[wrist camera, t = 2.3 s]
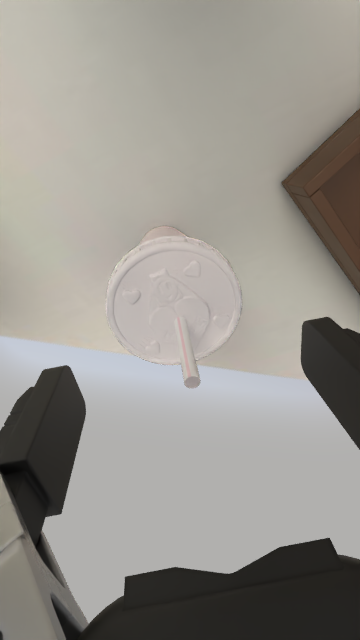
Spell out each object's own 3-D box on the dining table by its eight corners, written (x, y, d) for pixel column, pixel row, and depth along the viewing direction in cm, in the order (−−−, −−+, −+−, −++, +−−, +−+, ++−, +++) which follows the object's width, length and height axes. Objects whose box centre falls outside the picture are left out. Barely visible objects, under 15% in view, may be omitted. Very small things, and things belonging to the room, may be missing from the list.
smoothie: (144, 303, 24) (141, 457, 12) (103, 228, 21) (43, 331, 9) (218, 272, 23) (298, 400, 11) (188, 189, 20) (252, 242, 8)
